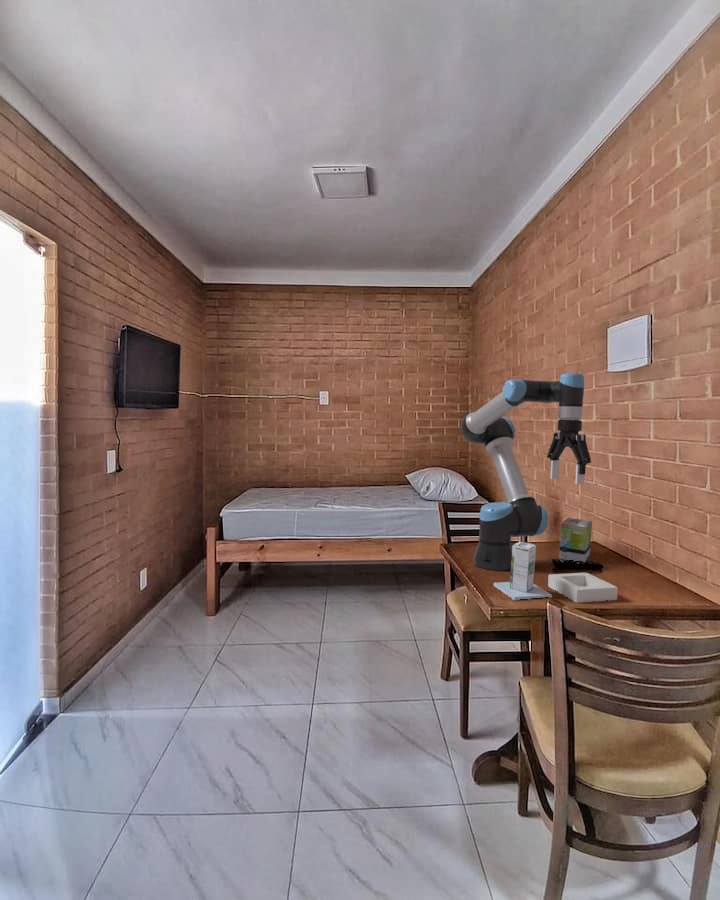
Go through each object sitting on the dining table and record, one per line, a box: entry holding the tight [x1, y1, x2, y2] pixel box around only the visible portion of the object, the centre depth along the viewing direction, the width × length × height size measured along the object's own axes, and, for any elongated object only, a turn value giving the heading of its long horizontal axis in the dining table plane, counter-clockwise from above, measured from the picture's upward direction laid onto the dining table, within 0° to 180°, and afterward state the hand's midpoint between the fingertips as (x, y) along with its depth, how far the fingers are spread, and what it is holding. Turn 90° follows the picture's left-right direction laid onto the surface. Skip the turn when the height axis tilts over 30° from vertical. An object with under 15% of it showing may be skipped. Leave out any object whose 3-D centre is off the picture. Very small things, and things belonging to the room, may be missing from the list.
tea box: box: [558, 517, 593, 563], centre depth 198 cm, size 15×10×15 cm, turn 148°
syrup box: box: [509, 541, 537, 592], centre depth 156 cm, size 6×6×14 cm
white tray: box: [547, 572, 619, 604], centre depth 157 cm, size 14×14×4 cm
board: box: [493, 581, 553, 601], centre depth 156 cm, size 13×13×1 cm
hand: (566, 481), depth 166 cm, fingers open, 13 cm apart
